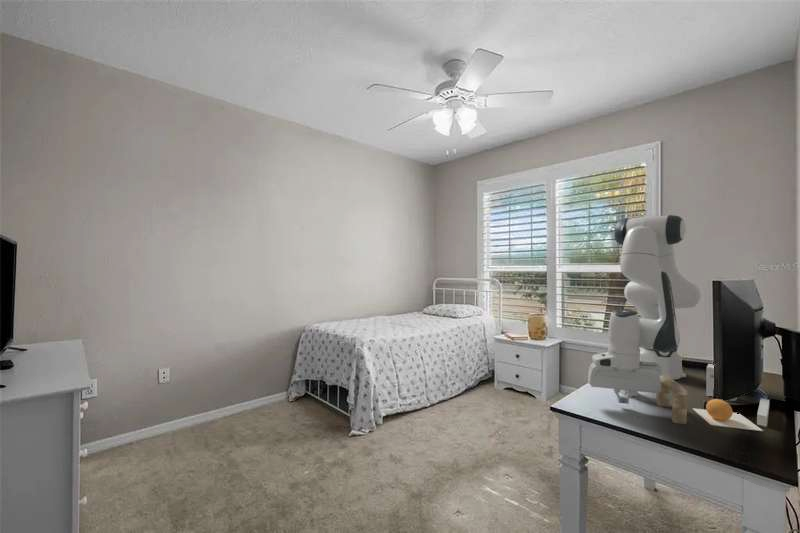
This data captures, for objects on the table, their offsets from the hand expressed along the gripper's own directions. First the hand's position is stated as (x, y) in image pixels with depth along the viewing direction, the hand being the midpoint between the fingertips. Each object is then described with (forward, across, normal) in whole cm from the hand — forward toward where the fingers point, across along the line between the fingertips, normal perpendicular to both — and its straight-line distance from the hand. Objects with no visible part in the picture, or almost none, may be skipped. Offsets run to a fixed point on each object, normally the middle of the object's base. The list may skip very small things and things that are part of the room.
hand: (622, 402), depth 118 cm
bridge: (+2, -13, 0) cm, 13 cm away
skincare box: (+2, -5, -15) cm, 16 cm away
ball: (-1, -25, +1) cm, 25 cm away
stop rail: (+2, -39, -6) cm, 39 cm away
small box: (+2, -35, -21) cm, 41 cm away
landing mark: (+2, -27, 0) cm, 27 cm away
